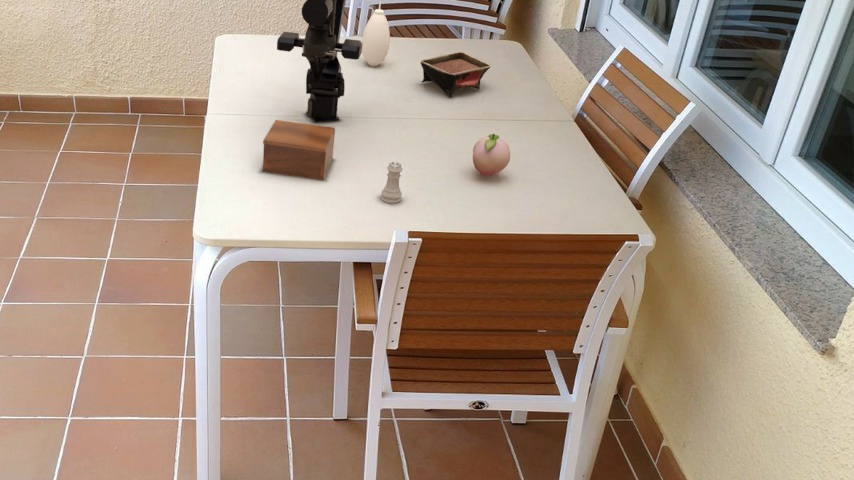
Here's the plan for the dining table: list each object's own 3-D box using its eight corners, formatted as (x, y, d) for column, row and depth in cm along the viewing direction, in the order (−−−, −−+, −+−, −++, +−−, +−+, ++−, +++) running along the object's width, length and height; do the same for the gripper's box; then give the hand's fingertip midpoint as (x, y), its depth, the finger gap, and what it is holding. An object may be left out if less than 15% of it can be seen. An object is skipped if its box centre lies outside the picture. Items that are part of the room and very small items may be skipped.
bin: (323, 180, 210) (326, 150, 206) (262, 171, 212) (264, 142, 208) (332, 159, 220) (334, 131, 216) (274, 151, 222) (275, 123, 218)
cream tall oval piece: (360, 59, 280) (367, -5, 270) (387, 62, 280) (395, -2, 269) (358, 67, 274) (365, 2, 264) (386, 70, 273) (393, 5, 263)
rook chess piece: (378, 194, 206) (382, 159, 201) (399, 195, 206) (403, 160, 202) (382, 204, 202) (386, 168, 198) (403, 204, 203) (407, 168, 198)
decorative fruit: (505, 187, 213) (514, 144, 207) (468, 182, 214) (476, 139, 208) (505, 170, 220) (514, 128, 215) (469, 165, 221) (476, 123, 216)
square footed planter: (489, 99, 265) (498, 61, 260) (442, 99, 255) (450, 60, 250) (453, 86, 275) (460, 50, 270) (406, 86, 265) (413, 48, 260)
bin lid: (325, 152, 206) (325, 148, 205) (263, 143, 208) (263, 140, 207) (334, 131, 216) (335, 127, 215) (275, 123, 218) (275, 119, 217)
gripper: (273, 18, 209) (269, 89, 218) (358, 28, 206) (351, 99, 215) (283, 5, 218) (280, 73, 227) (365, 14, 215) (358, 83, 224)
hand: (317, 82), depth 223 cm, fingers closed
